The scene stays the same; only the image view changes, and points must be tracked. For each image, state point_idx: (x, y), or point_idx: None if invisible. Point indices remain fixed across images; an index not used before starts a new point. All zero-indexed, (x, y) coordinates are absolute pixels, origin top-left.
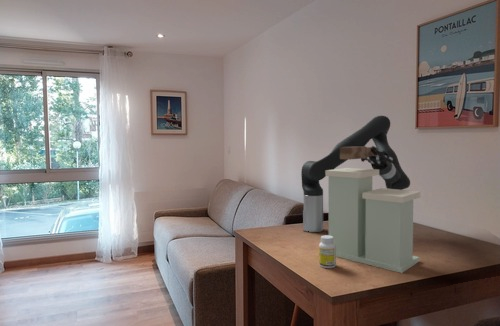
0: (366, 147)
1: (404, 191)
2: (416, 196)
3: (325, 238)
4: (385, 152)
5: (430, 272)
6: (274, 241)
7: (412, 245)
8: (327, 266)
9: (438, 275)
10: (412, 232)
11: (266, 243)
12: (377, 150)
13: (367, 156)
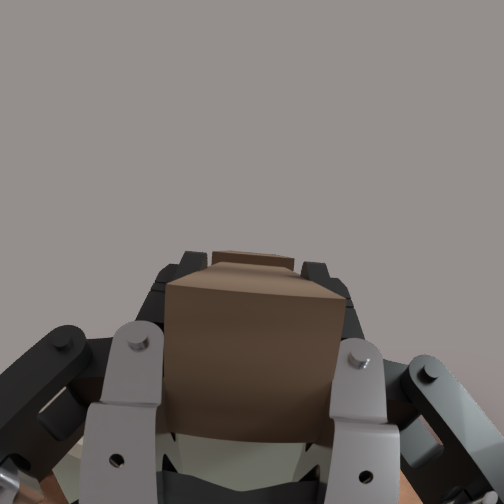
0: (212, 257)
1: (46, 404)
2: None
3: None
4: (36, 351)
5: (53, 487)
6: (408, 489)
7: (68, 500)
8: None
9: (44, 478)
10: (58, 480)
11: (402, 475)
12: (146, 310)
13: None
